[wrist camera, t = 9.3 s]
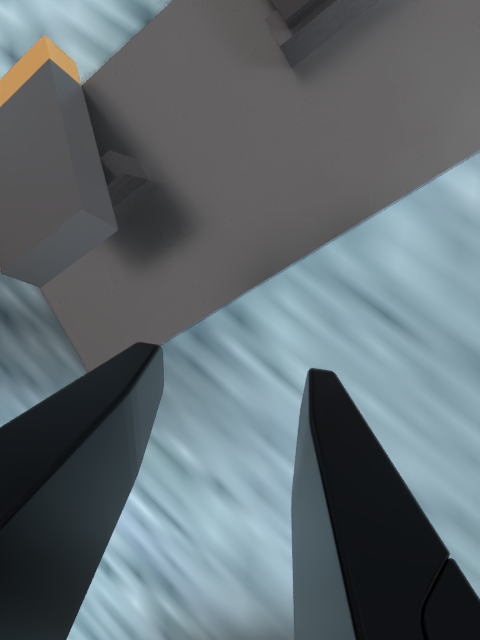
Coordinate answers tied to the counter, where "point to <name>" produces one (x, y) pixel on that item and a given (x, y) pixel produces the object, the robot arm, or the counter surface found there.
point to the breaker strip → (259, 148)
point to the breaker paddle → (48, 169)
